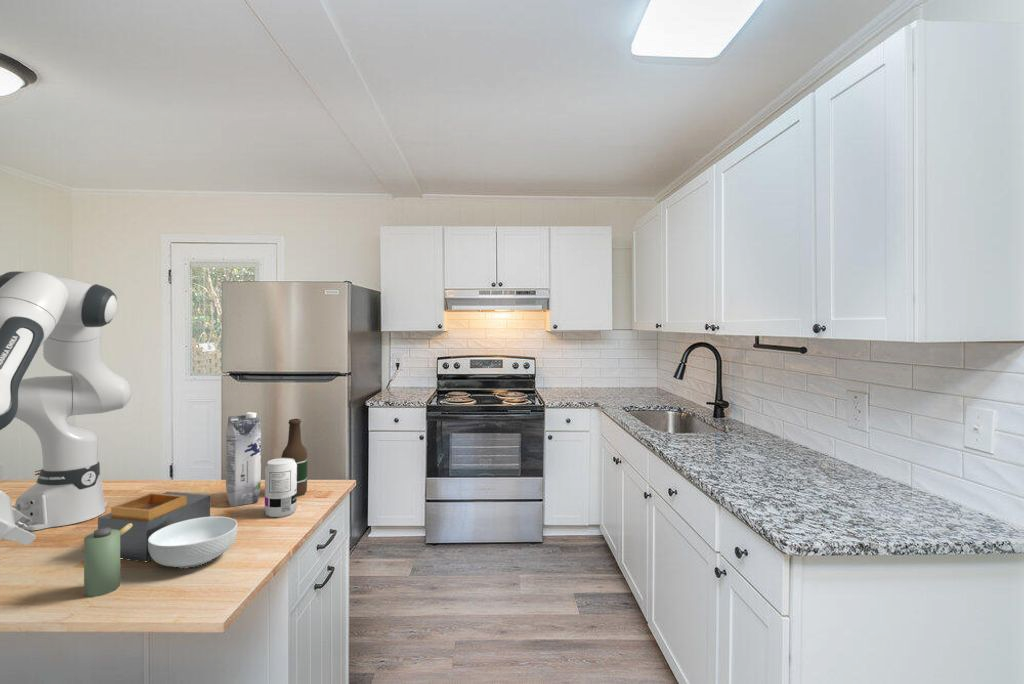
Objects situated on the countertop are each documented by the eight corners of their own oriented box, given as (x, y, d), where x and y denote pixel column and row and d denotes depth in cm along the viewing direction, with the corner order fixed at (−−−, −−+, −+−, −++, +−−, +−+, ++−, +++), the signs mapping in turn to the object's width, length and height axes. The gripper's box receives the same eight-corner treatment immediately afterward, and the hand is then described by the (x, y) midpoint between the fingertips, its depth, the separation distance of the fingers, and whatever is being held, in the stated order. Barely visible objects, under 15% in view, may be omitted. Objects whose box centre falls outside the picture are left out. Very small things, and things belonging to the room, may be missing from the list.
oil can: (86, 600, 92) (86, 538, 91) (82, 589, 95) (82, 529, 95) (135, 585, 97) (135, 526, 97) (129, 575, 101) (129, 519, 101)
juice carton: (227, 509, 138) (227, 417, 138) (225, 498, 147) (226, 411, 146) (261, 503, 143) (262, 414, 143) (257, 493, 152) (258, 409, 151)
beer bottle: (297, 499, 148) (297, 422, 147) (275, 496, 149) (275, 420, 149) (312, 490, 155) (313, 417, 155) (291, 488, 157) (292, 416, 156)
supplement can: (258, 515, 134) (258, 462, 134) (282, 505, 142) (282, 456, 141) (279, 520, 131) (279, 466, 131) (302, 510, 139) (303, 459, 138)
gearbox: (86, 555, 109) (86, 507, 109) (157, 524, 127) (157, 482, 127) (146, 562, 107) (146, 512, 106) (210, 529, 124) (210, 487, 124)
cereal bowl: (243, 539, 119) (243, 511, 119) (229, 571, 103) (229, 539, 103) (162, 549, 113) (162, 520, 113) (134, 585, 97) (134, 550, 97)
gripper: (-34, 491, 75) (52, 533, 82) (-32, 464, 88) (42, 503, 96) (-79, 527, 71) (15, 568, 79) (-70, 494, 85) (10, 531, 93)
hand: (30, 532), depth 88 cm, fingers open, 8 cm apart
